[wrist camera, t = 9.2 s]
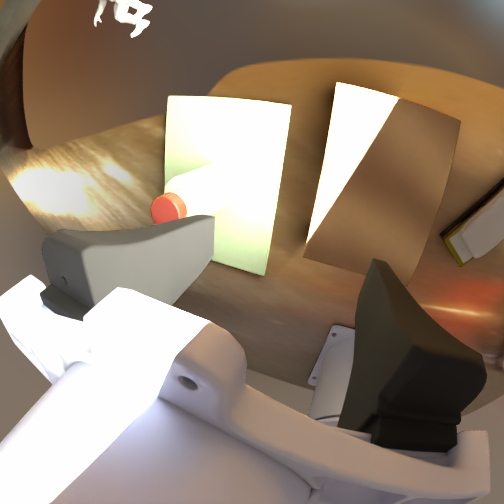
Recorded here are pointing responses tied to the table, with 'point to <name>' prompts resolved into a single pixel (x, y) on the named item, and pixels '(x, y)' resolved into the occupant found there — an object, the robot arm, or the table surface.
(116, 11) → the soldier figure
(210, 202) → the spice bottle
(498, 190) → the harmonica
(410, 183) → the small bench
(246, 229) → the mat
